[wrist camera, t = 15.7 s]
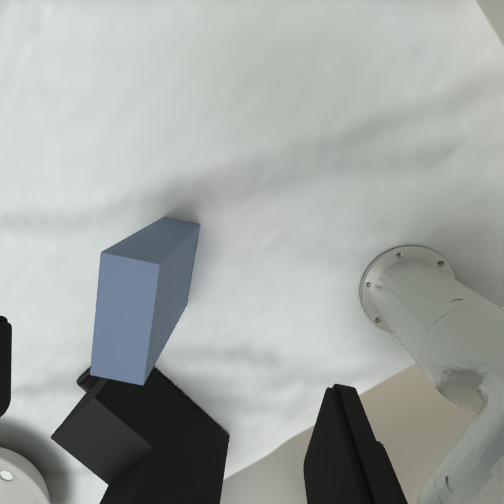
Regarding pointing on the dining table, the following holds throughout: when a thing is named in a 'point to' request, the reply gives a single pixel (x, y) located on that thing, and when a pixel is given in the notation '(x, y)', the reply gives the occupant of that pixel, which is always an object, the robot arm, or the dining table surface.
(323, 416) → the robot arm
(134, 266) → the book
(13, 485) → the soup bowl
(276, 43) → the dining table surface
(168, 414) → the black drawer cabinet
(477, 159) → the dining table surface
